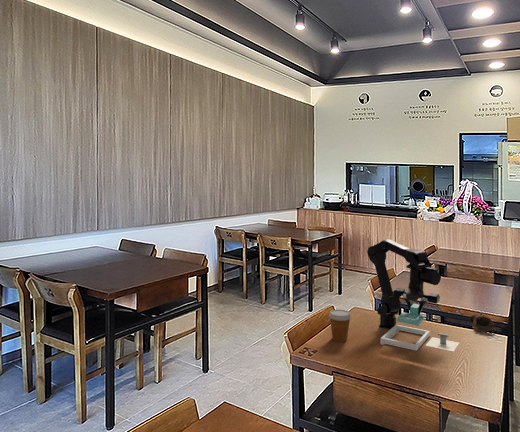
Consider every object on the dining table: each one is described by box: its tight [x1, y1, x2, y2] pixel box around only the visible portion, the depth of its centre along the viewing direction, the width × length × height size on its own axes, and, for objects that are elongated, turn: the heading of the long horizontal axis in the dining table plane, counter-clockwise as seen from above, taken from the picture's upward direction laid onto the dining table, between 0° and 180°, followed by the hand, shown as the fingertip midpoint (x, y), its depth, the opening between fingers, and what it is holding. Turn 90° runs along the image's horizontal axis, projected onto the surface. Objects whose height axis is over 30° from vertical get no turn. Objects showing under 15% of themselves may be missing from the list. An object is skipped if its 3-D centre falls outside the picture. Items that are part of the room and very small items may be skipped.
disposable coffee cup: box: [328, 309, 352, 343], centre depth 192 cm, size 10×10×12 cm
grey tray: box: [380, 324, 431, 352], centre depth 189 cm, size 15×20×3 cm
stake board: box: [425, 332, 460, 353], centre depth 183 cm, size 11×11×5 cm
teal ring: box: [396, 303, 425, 327], centre depth 188 cm, size 9×14×4 cm, turn 146°
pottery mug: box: [469, 314, 495, 333], centre depth 201 cm, size 12×10×8 cm
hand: (415, 314), depth 192 cm, fingers closed on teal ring, 3 cm apart
